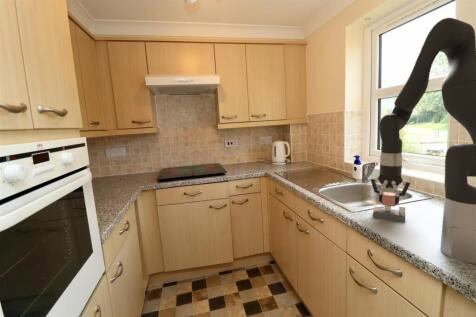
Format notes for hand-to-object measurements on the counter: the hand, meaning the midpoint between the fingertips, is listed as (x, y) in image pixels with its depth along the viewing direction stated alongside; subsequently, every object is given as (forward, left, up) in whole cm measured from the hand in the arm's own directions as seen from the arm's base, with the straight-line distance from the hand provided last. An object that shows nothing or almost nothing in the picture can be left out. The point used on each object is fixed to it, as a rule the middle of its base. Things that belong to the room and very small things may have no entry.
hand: (388, 203), depth 98 cm
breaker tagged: (0, 0, -3) cm, 3 cm away
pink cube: (0, 0, 0) cm, 0 cm away
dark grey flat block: (-1, 0, -6) cm, 6 cm away
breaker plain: (0, -5, -3) cm, 5 cm away
